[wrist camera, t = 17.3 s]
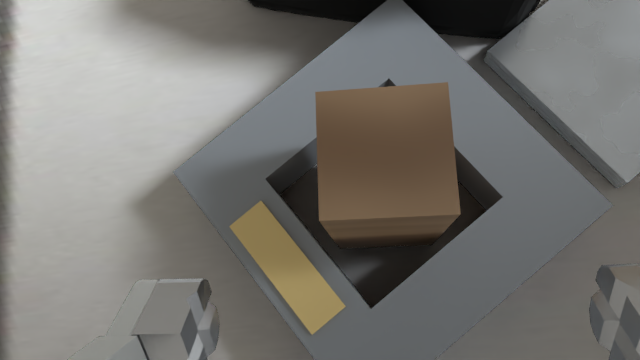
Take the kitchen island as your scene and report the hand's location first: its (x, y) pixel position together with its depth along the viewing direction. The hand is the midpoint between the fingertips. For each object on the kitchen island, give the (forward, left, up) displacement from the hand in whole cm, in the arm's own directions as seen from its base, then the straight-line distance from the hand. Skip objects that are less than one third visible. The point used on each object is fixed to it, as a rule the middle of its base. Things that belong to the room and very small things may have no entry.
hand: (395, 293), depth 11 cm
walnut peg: (+3, -3, -11) cm, 12 cm away
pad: (+1, -14, -11) cm, 18 cm away
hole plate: (+3, -2, -11) cm, 12 cm away
